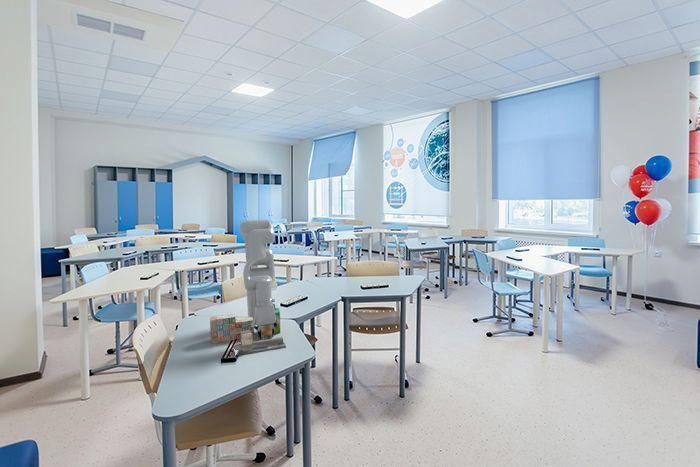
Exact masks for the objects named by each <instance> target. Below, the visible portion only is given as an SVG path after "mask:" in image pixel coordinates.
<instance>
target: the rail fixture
mask: <svg viewBox="0 0 700 467" xmlns="http://www.w3.org/2000/svg"><path fill="white" fill-rule="evenodd" d="M240 333H241V339H240V343H237V344H234V345H233V347H234V349H235V350H239V352H238V356H237V357H239V356H244V355H249V354H250V355H251V354H255V353H260V352H261V353H262V352H267V351H273V350H279V349H284V348H287V346H286V344H285V342H284V337H282V336H280V337H275V338H273V337H272V339H270V338H268V339H263V340H261V339H259V340H256V341H253V340H254V339H253V338H254V337H252V332H251V331H250V330H247V331H241V332H240Z"/></svg>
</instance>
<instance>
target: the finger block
mask: <svg viewBox="0 0 700 467" xmlns="http://www.w3.org/2000/svg"><path fill="white" fill-rule="evenodd" d="M260 331H261V339H260V340H264V337H265V336H268V339H273V337H272V325H271V324H269V325H262V326H261V328H260Z"/></svg>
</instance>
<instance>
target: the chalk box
mask: <svg viewBox="0 0 700 467" xmlns="http://www.w3.org/2000/svg"><path fill="white" fill-rule="evenodd" d="M273 305H274V310H275V316H276V317H277V318H278V319H279V320H280V322H279V323H278V324H277V326H276V327H275V329H274V334H281V311H280V307H276V304H275V303H273Z"/></svg>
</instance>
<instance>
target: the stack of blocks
mask: <svg viewBox="0 0 700 467" xmlns="http://www.w3.org/2000/svg"><path fill="white" fill-rule="evenodd" d="M209 322H210V323H209V324H210V329H209V330H210V337H211V338H210V339H211V344H214V343H215V344H216V343H223V342H230V341H233V340H232V339H237V340H241V339H240V338H241V333H240V332H241V331H247V330H250V331H251V332H252V338H255V328H253V327H252V326H251V325H250V324H251V323H252V322H253V318H252V317H248V316H247V317H241V318H236V315H235V313H229V314H222V315H215V316H210V317H209Z"/></svg>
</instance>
